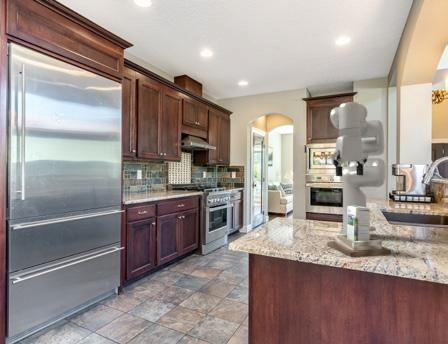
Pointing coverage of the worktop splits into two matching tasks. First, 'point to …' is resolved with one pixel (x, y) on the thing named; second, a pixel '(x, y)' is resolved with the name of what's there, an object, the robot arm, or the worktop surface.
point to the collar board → (358, 246)
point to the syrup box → (358, 223)
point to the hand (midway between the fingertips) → (349, 175)
